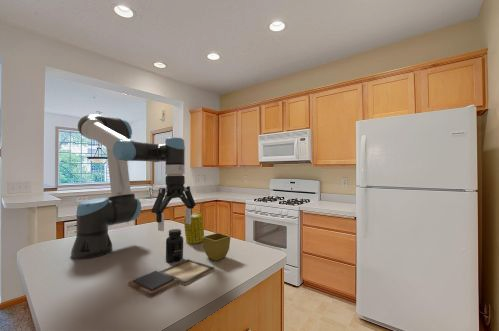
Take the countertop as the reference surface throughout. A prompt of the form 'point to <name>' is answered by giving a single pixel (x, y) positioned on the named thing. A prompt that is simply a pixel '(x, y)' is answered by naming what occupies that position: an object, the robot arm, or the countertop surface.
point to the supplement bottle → (174, 246)
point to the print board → (187, 271)
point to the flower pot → (216, 245)
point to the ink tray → (154, 292)
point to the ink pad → (153, 280)
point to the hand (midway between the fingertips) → (175, 226)
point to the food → (194, 229)
